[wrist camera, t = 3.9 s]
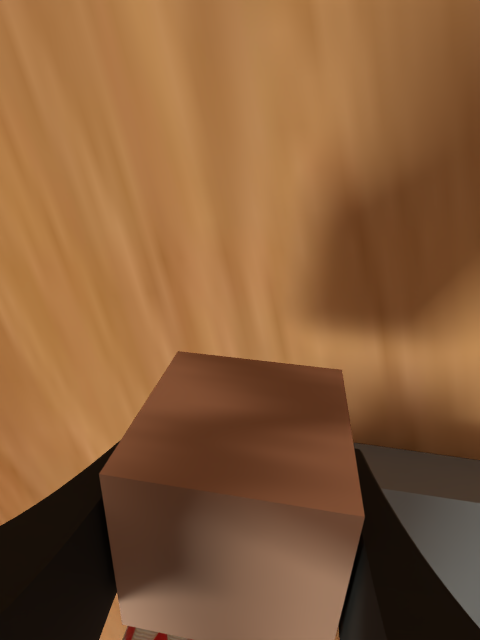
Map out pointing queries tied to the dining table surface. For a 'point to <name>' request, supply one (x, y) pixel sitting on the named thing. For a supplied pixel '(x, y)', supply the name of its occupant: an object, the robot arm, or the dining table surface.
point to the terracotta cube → (235, 502)
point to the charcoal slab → (436, 513)
